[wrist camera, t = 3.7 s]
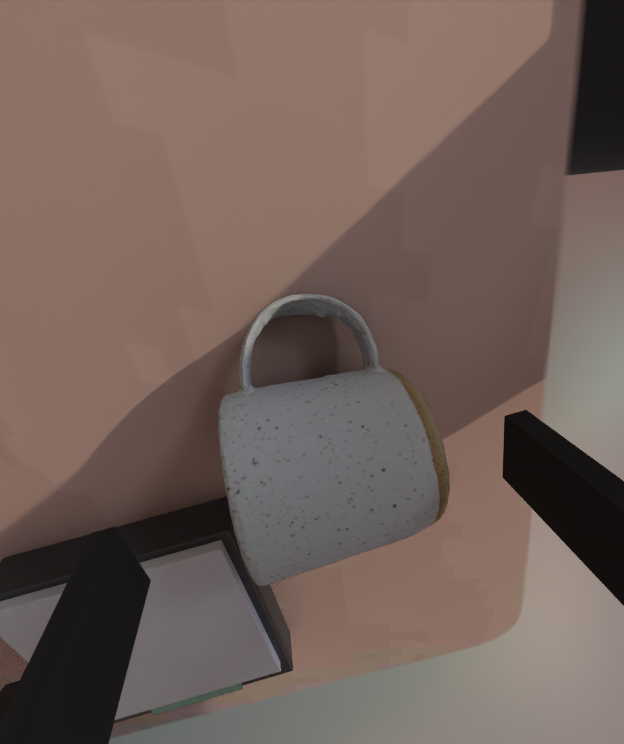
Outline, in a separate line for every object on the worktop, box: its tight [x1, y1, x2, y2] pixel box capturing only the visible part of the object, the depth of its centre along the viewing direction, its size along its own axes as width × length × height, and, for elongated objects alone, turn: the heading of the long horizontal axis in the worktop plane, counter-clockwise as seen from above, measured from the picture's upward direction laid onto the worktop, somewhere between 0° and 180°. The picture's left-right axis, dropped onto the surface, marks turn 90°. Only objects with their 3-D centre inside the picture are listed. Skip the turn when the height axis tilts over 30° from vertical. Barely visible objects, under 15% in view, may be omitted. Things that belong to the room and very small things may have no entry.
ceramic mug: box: [218, 294, 450, 586], centre depth 15 cm, size 11×8×8 cm
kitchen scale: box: [0, 497, 293, 723], centre depth 22 cm, size 13×14×3 cm
